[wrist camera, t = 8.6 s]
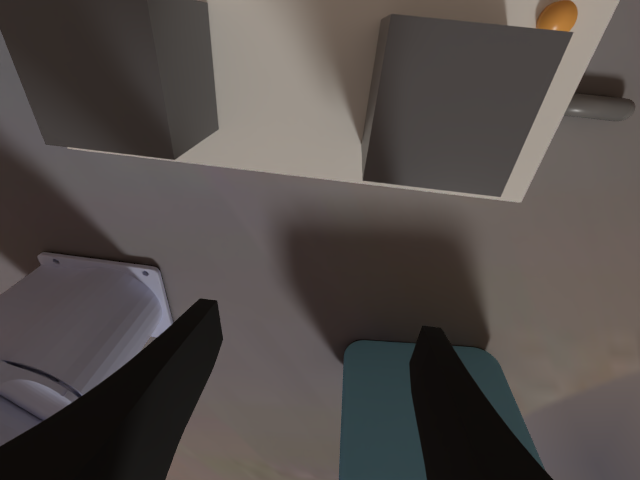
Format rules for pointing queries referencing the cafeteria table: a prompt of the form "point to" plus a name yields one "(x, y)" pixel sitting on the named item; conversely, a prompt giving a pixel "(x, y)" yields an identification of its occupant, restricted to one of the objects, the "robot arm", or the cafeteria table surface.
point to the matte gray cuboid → (115, 72)
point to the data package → (403, 409)
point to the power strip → (328, 80)
